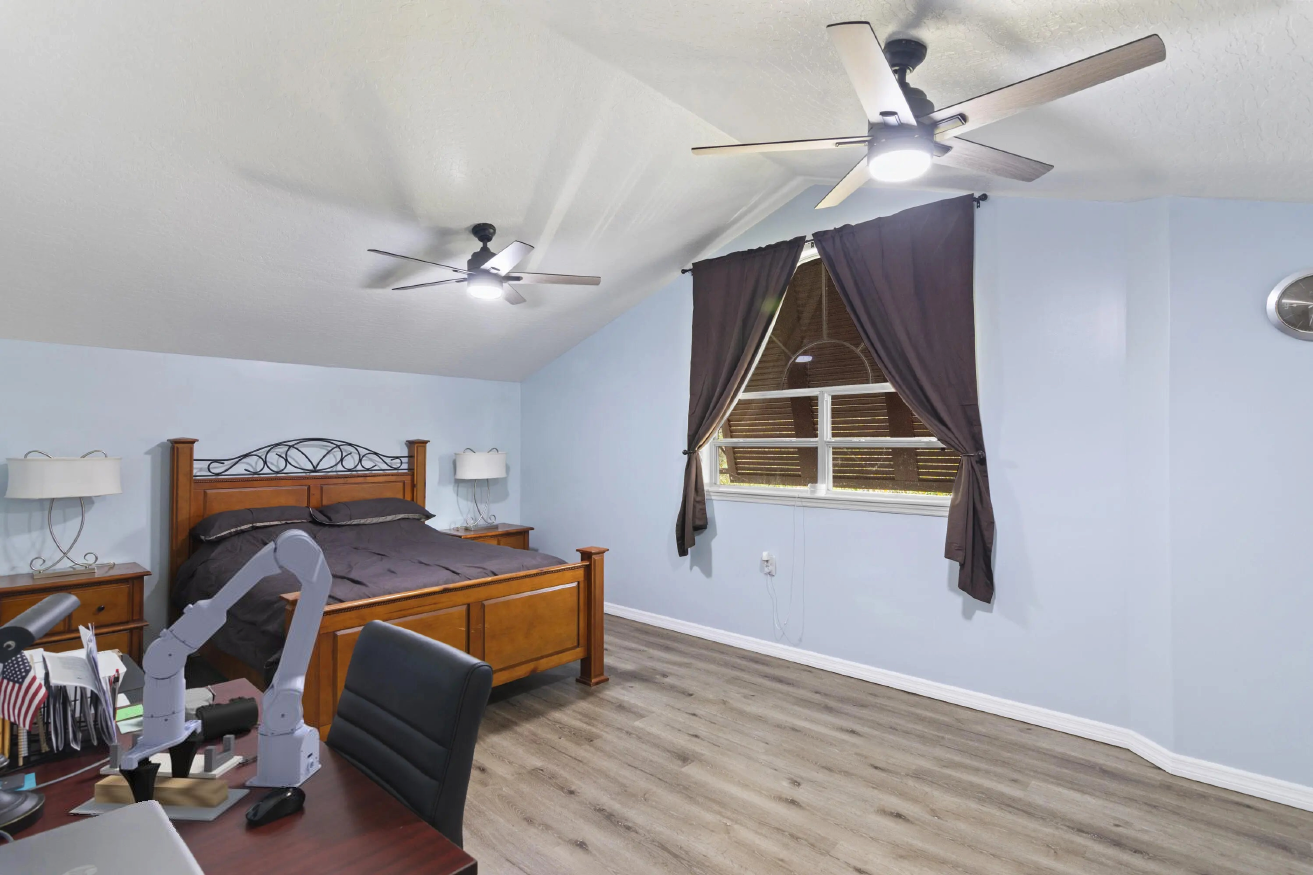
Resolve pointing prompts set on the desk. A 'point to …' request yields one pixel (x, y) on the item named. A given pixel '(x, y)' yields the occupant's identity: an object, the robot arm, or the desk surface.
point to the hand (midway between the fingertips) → (162, 792)
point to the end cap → (227, 718)
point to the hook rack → (201, 765)
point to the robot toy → (197, 701)
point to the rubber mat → (169, 808)
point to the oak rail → (166, 791)
